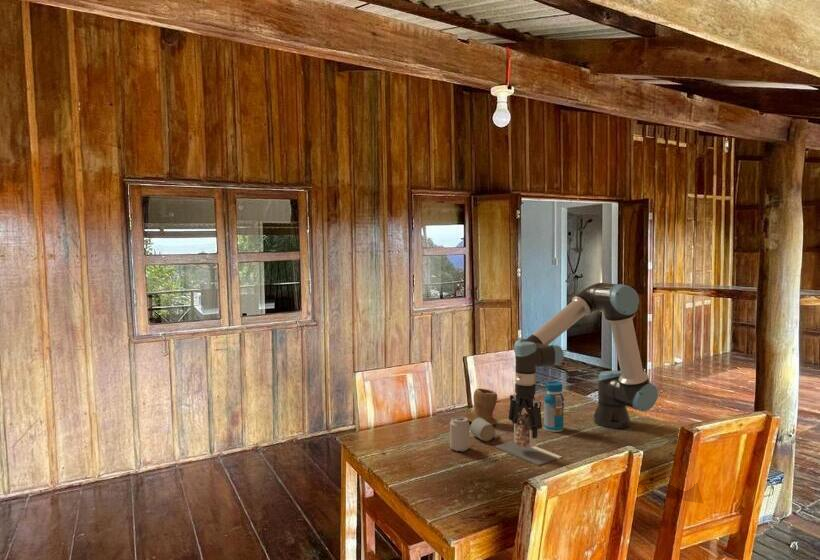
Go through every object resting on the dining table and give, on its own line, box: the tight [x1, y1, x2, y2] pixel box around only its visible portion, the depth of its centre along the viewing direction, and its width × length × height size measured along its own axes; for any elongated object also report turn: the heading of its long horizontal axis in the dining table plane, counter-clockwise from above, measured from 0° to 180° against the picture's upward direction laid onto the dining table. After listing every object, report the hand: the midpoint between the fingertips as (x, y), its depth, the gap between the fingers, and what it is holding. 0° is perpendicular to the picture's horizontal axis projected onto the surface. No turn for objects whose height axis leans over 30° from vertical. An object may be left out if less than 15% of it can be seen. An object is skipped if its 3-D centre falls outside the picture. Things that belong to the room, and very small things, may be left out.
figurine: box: [515, 412, 531, 448], centre depth 203 cm, size 7×7×12 cm
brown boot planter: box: [459, 388, 498, 426], centre depth 239 cm, size 15×12×15 cm
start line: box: [513, 439, 562, 460], centre depth 207 cm, size 2×22×1 cm, turn 35°
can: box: [449, 416, 470, 452], centre depth 208 cm, size 8×8×12 cm
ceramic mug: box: [469, 418, 499, 442], centre depth 219 cm, size 11×8×8 cm
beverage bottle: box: [543, 381, 565, 433], centre depth 229 cm, size 8×8×20 cm
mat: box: [494, 440, 558, 467], centre depth 203 cm, size 10×22×1 cm, turn 35°
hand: (524, 442), depth 203 cm, fingers closed on figurine, 7 cm apart
